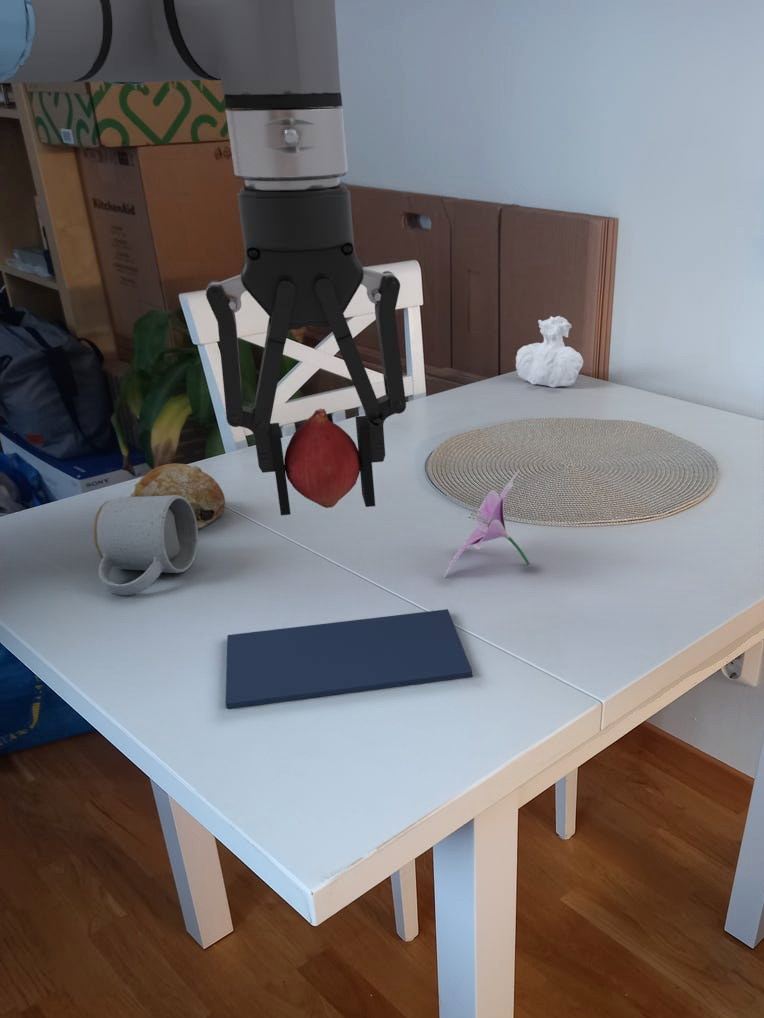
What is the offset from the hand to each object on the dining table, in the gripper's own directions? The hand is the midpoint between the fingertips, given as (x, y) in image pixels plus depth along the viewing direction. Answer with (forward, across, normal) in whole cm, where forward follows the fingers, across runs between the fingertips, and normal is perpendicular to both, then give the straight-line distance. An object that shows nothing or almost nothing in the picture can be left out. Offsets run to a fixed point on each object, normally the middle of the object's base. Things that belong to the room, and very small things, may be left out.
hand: (327, 503), depth 74 cm
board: (+14, 0, -2) cm, 14 cm away
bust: (+14, +41, +76) cm, 88 cm away
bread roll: (+14, -16, +34) cm, 40 cm away
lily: (+14, +16, +14) cm, 25 cm away
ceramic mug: (+14, -18, +20) cm, 30 cm away
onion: (0, 0, 0) cm, 0 cm away
